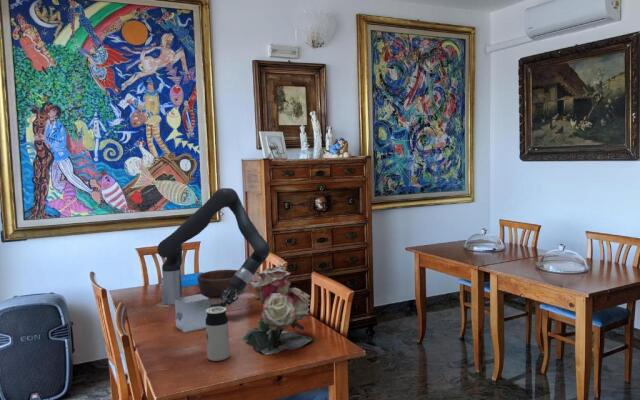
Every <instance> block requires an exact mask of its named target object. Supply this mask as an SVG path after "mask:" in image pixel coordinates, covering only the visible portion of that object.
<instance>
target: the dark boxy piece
mask: <svg viewBox="0 0 640 400" xmlns="http://www.w3.org/2000/svg"><path fill="white" fill-rule="evenodd" d="M209 302H210V308H212V307H220V303H221V302H218V301H216V300H209ZM176 319H181V315H180V313H177V314H176V315H175V320H176Z"/></svg>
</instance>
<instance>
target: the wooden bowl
mask: <svg viewBox="0 0 640 400" xmlns="http://www.w3.org/2000/svg"><path fill="white" fill-rule="evenodd" d="M238 270H239V269H237V270H236V269H218V270H210V271H205V272H203V273H202V274H200V275H198V277H197V279H198V284H199V285H198V288H199V290H200V292H201V294H202V295H204V296H205V297H207V298H221V294H222V291H223V290H227V288H228V287H229V286H230V284H229V282H230V280H231V279H232V278H233V276H234V275H235V273H236V272H237V271H238ZM239 293H240V291H239Z"/></svg>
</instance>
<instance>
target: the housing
mask: <svg viewBox="0 0 640 400" xmlns="http://www.w3.org/2000/svg"><path fill="white" fill-rule="evenodd" d="M209 301H210V297H208V296H205V295H203V294H202V293H200V294H199V293H198V294H193V295H189V296H188V295H187V296H182V298H176V299H175V305H174V312H175V316H176V314H177V313H180V315H181V319H176V318H175V327H176V328H177V329H179V330H180V331H181V332H183V333H184V334H185V333H189V332H194V331H198V330H202V329H206V320H205V319H206V317H207V313H206V310H207V309H208V308H210V302H209Z"/></svg>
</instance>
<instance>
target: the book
mask: <svg viewBox="0 0 640 400" xmlns="http://www.w3.org/2000/svg"><path fill="white" fill-rule="evenodd" d="M202 273H204V272H202V271H200V272H195V273H187V274H181V279H182V288H186V287H193V286H199V284H198V279H197V277H198V275H200V274H202ZM161 284H162V285H163V277H161Z"/></svg>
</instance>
